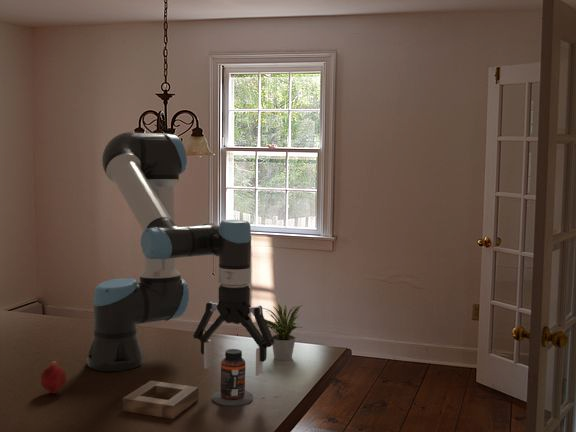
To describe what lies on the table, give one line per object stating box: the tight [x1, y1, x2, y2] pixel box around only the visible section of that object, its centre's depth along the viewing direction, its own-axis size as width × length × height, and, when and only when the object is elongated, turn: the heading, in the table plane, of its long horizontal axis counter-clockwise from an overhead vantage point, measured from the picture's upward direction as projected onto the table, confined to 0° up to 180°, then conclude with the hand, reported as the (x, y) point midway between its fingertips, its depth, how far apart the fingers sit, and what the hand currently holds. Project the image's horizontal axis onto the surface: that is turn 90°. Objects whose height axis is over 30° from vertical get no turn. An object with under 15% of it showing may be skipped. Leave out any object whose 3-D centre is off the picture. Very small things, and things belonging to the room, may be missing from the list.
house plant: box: [262, 303, 304, 362], centre depth 200 cm, size 14×14×16 cm
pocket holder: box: [122, 380, 199, 420], centre depth 161 cm, size 13×13×3 cm
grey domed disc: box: [211, 389, 254, 407], centre depth 166 cm, size 10×10×1 cm
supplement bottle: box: [220, 348, 246, 400], centre depth 165 cm, size 6×6×11 cm
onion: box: [40, 361, 67, 394], centre depth 166 cm, size 6×6×8 cm
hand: (232, 370), depth 165 cm, fingers open, 13 cm apart
